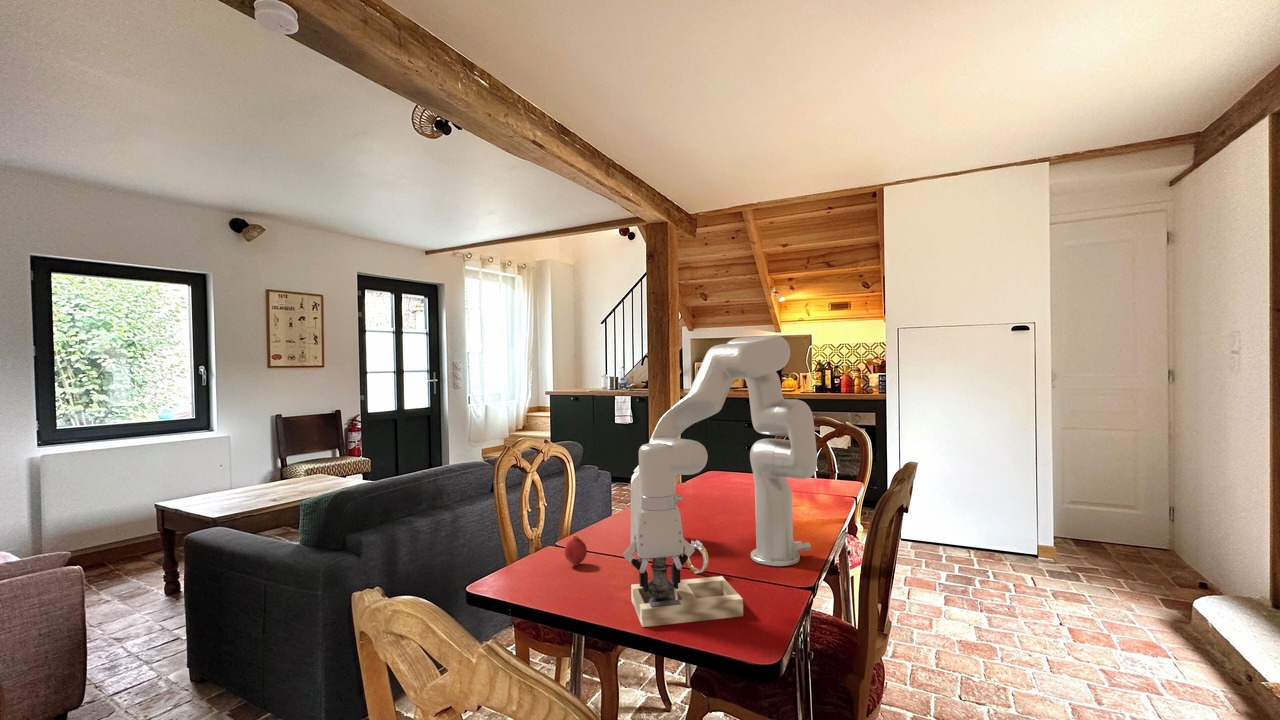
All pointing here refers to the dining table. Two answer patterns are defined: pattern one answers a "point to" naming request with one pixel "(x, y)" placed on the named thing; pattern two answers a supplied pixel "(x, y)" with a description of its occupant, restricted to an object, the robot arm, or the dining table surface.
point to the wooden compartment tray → (689, 602)
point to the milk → (634, 499)
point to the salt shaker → (660, 582)
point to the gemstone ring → (704, 554)
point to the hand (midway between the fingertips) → (660, 587)
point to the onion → (575, 551)
